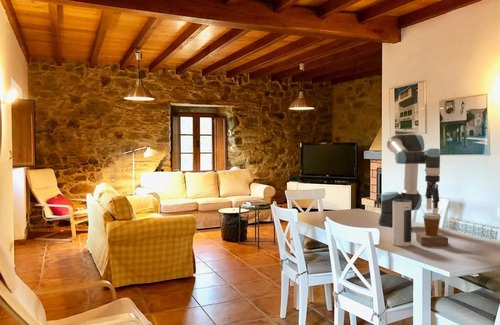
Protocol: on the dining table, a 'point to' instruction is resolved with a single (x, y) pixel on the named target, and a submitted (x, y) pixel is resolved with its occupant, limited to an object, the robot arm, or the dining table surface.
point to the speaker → (402, 222)
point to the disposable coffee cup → (431, 223)
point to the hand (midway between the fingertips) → (431, 211)
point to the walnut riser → (431, 240)
